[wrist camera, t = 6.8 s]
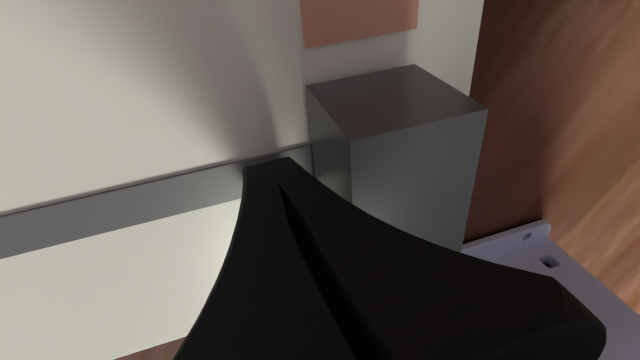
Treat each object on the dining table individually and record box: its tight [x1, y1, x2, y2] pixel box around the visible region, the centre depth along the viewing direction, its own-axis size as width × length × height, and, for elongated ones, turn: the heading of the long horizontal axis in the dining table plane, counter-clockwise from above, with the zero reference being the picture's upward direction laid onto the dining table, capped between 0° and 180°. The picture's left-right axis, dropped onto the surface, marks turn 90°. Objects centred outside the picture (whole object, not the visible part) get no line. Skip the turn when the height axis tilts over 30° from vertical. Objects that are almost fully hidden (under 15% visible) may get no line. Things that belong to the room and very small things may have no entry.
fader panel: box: [0, 0, 484, 360], centre depth 11 cm, size 20×12×2 cm, turn 94°
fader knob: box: [306, 64, 489, 253], centre depth 10 cm, size 3×5×3 cm, turn 4°
